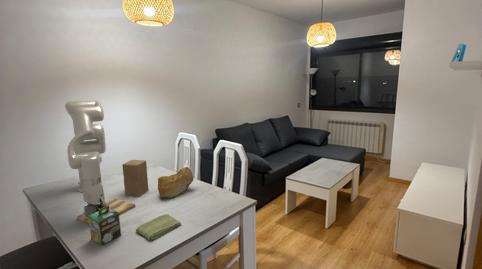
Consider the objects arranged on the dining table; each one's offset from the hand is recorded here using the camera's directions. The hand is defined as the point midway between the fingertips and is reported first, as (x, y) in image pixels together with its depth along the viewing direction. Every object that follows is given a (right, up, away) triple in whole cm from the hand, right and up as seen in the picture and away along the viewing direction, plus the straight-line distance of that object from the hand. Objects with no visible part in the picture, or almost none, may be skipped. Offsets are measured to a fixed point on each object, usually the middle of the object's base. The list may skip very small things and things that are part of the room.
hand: (96, 214), depth 127 cm
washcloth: (+35, -5, -8) cm, 36 cm away
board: (+3, -1, +6) cm, 6 cm away
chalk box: (+13, -6, -16) cm, 21 cm away
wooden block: (+8, +4, +30) cm, 32 cm away
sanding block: (0, -1, 0) cm, 1 cm away
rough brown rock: (+31, +4, +32) cm, 44 cm away
